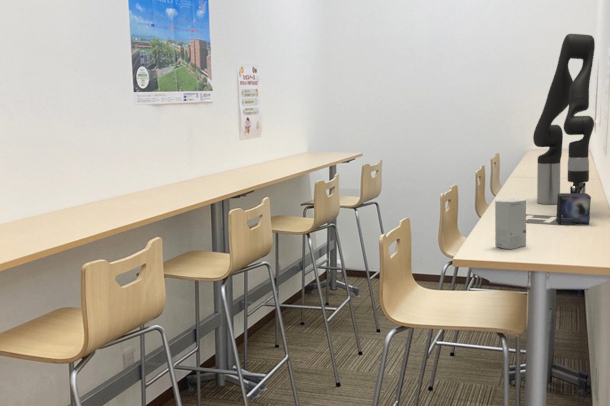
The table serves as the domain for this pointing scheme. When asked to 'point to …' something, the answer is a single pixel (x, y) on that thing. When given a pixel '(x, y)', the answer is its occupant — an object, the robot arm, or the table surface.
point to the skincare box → (510, 223)
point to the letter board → (541, 219)
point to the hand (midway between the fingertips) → (577, 211)
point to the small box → (573, 208)
